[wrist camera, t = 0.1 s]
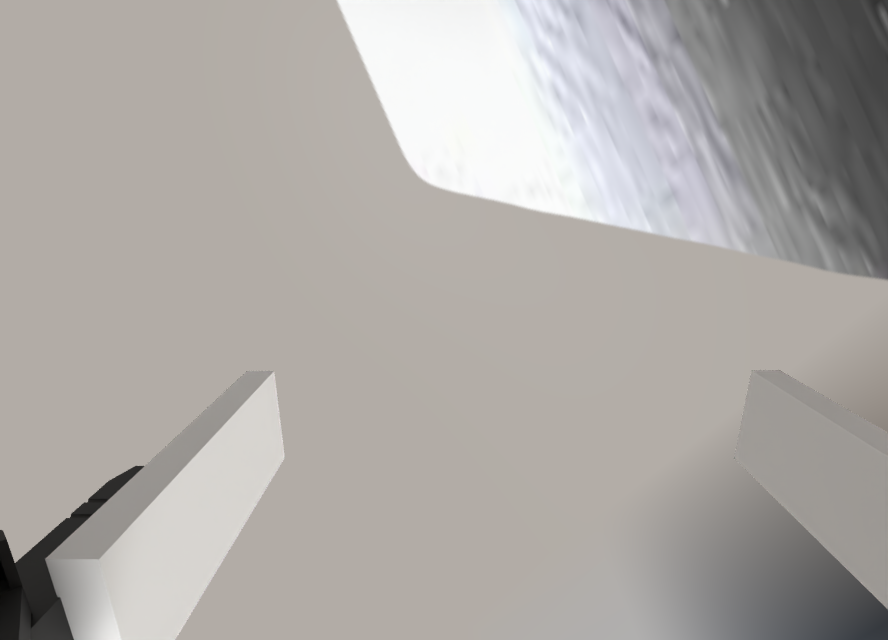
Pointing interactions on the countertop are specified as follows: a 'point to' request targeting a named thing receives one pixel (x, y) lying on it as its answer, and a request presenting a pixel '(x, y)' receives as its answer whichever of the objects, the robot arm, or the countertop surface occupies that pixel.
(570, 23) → the countertop surface
